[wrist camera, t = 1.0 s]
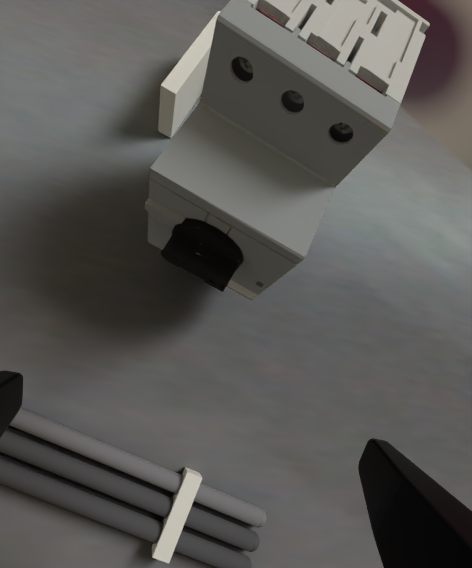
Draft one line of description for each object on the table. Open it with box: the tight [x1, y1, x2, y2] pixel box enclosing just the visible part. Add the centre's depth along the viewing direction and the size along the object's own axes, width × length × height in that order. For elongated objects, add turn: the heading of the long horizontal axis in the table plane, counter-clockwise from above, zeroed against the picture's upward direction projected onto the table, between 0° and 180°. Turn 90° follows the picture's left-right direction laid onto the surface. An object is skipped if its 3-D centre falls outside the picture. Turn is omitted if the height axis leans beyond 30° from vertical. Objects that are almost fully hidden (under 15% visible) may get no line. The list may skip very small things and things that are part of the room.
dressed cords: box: [0, 407, 266, 568], centre depth 18 cm, size 4×23×1 cm, turn 66°
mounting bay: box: [158, 11, 220, 138], centre depth 27 cm, size 10×14×4 cm
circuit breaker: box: [145, 0, 430, 300], centre depth 19 cm, size 8×14×15 cm, turn 154°
